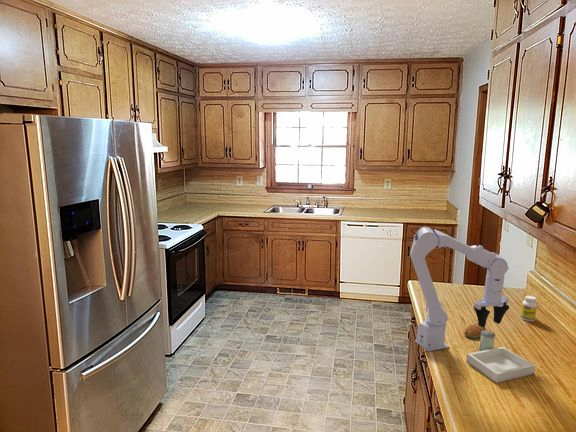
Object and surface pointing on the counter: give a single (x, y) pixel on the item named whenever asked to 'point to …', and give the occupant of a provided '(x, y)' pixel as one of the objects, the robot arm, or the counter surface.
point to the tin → (486, 340)
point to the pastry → (474, 331)
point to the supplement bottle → (529, 308)
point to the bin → (500, 364)
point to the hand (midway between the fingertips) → (489, 324)
